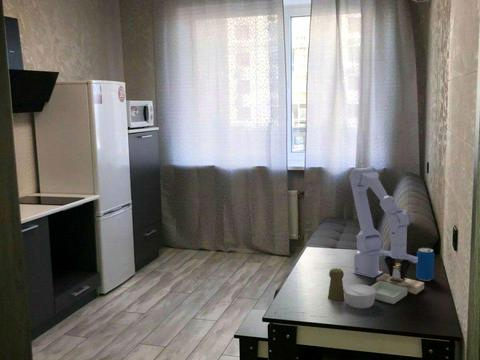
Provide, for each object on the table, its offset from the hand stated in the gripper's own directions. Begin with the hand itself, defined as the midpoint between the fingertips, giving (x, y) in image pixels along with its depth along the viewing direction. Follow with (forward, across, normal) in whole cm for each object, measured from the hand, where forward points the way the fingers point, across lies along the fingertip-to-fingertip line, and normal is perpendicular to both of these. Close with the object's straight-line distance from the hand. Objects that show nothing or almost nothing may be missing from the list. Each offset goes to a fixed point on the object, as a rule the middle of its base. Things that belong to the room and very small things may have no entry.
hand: (397, 277), depth 198 cm
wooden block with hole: (+4, +1, 0) cm, 4 cm away
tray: (+4, +1, -12) cm, 12 cm away
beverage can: (+4, +5, +14) cm, 15 cm away
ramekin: (+4, -3, -24) cm, 25 cm away
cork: (+4, -12, -25) cm, 28 cm away
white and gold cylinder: (+4, 0, 0) cm, 4 cm away
